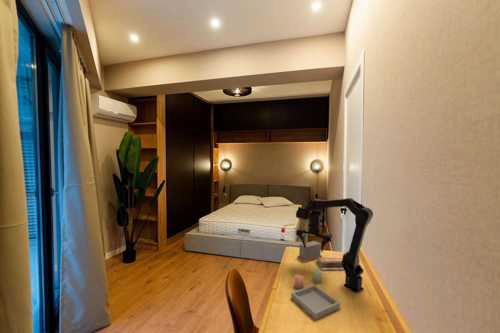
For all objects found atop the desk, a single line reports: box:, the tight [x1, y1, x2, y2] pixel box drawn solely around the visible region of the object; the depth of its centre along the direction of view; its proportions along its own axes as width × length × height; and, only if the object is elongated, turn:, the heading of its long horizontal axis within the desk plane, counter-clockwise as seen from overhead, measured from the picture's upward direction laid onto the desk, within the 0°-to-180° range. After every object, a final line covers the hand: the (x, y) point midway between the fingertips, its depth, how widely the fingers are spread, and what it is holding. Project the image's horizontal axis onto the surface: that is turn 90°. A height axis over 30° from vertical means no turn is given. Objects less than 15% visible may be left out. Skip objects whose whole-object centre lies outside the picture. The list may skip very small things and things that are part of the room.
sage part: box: [312, 268, 323, 284], centre depth 107 cm, size 4×4×5 cm
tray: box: [290, 284, 341, 321], centre depth 89 cm, size 14×14×3 cm
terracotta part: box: [294, 273, 305, 290], centre depth 101 cm, size 4×4×5 cm
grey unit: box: [296, 240, 323, 263], centre depth 131 cm, size 6×15×9 cm, turn 119°
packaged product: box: [314, 257, 345, 272], centre depth 122 cm, size 18×5×10 cm
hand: (313, 249), depth 117 cm, fingers open, 9 cm apart
